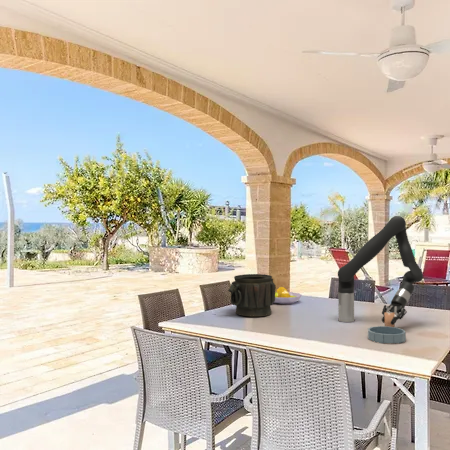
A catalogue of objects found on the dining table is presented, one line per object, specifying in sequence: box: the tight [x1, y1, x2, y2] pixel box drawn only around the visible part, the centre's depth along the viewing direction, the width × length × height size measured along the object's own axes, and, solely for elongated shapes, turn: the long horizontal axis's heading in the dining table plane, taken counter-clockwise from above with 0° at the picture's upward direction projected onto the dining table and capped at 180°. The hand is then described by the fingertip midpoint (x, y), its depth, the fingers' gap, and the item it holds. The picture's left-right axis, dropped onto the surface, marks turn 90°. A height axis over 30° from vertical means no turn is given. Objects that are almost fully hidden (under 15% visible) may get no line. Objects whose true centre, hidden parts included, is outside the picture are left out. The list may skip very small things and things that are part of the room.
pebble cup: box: [383, 311, 396, 327], centre depth 249 cm, size 5×5×10 cm
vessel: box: [227, 273, 277, 317], centre depth 300 cm, size 31×32×25 cm
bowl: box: [367, 325, 407, 344], centre depth 233 cm, size 18×18×4 cm
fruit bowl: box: [273, 286, 302, 305], centre depth 340 cm, size 28×27×11 cm
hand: (387, 322), depth 248 cm, fingers closed on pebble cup, 5 cm apart
